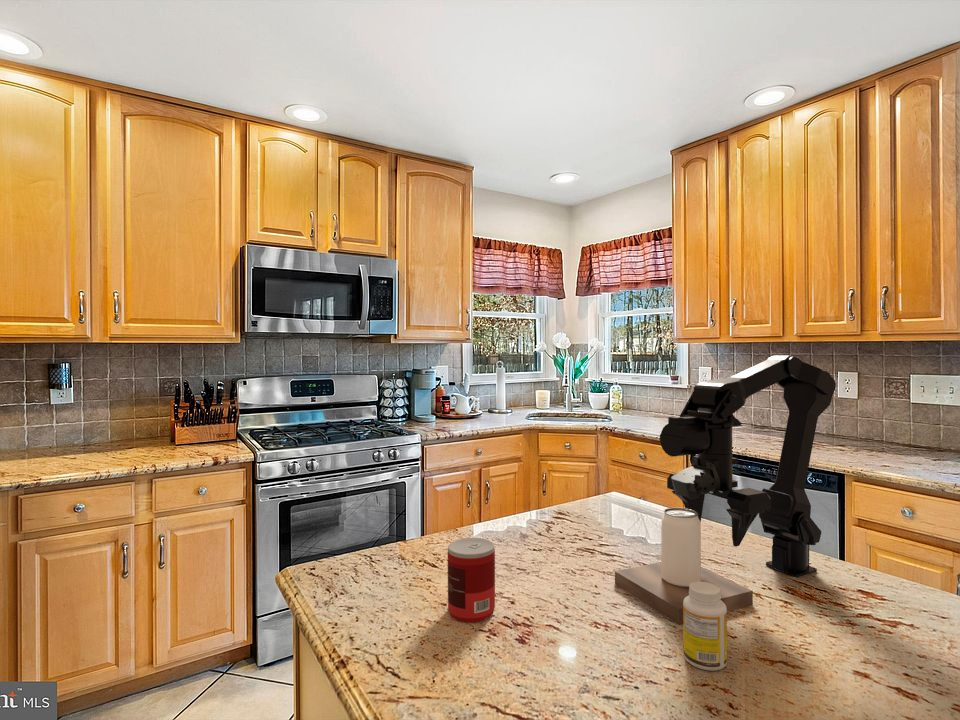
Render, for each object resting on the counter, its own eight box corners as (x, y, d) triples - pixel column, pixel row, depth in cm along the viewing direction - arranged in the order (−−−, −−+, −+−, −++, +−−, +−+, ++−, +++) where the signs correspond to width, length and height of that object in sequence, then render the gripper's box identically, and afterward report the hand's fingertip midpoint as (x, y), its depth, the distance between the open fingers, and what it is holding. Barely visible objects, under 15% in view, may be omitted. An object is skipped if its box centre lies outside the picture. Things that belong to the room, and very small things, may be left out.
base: (682, 570, 105) (682, 557, 105) (752, 605, 91) (752, 590, 90) (614, 584, 99) (614, 571, 99) (679, 624, 84) (679, 608, 84)
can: (703, 589, 91) (703, 519, 91) (663, 586, 92) (663, 516, 92) (697, 574, 97) (697, 508, 97) (659, 571, 99) (659, 505, 98)
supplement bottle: (704, 646, 78) (704, 576, 78) (736, 667, 73) (736, 591, 73) (674, 655, 76) (674, 582, 76) (704, 676, 71) (704, 599, 71)
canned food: (500, 604, 91) (500, 540, 91) (485, 627, 84) (485, 557, 84) (458, 598, 94) (458, 535, 94) (440, 619, 86) (440, 551, 86)
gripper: (644, 447, 103) (644, 528, 103) (723, 465, 86) (724, 563, 86) (689, 442, 107) (689, 520, 108) (773, 459, 90) (773, 552, 90)
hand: (715, 537), depth 98 cm, fingers open, 9 cm apart
